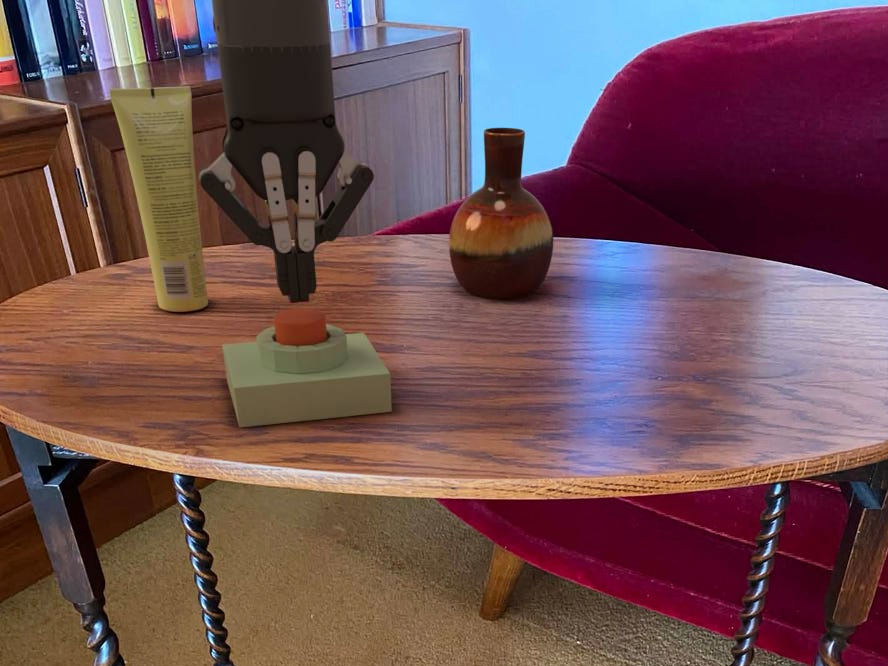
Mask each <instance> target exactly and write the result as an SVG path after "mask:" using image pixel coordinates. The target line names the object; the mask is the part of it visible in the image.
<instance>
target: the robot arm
mask: <svg viewBox="0 0 888 666" xmlns="http://www.w3.org/2000/svg"><path fill="white" fill-rule="evenodd" d="M211 5H212V6H211V7H212V12H213V13H212V14H213V17H212V27H213V31H214V33H215V37H216V38H215V39H216V46H217V54H218V63H219V69H220V79H221V86H222V93H223V102H224V109H225V110H224V111H225V118H226V129H225V133H224V135H223V138H222V145H221V146H222V153H221V154H220V155H219V156H218V157H217V158H216V159H215V160H214V161H213V162H212V163H211V164H210V165H209V166H203V167H202V168H200V169H199V170H198V173H197V177H198V181H199V183H200V186H201V188H202V189H203V190H204V191H205V192H206V194H207V195H208V196H209V197H210V198H211V199H212V200H213V201H214V202H215V203H216V204H217V206H218V207H219V208H220V209H221V210H222V212H224V214H226V216H227V217H228V218H230V220H231V221H232V222H233V223H234V224H235V226H236V227H237V228H238V229H239V230H240V231H241V232H242V233H243V234H244V235H245V237H247V239H249V241H250V242H251V243H252V244H253V245H255V246H261V247H262V246H263V247H266V248H268V249H270V250H272V251H273V258H274V267H275V275H276V276H275V277H276V285H277V287H278V289H279V292H280V293H281V295H282V296H284V297H285V296H286V297H287V300H288V301H289V303H290V304H297V303H298V304H299V303H308V302H310V294H311V295H312V294H315V293H316V291H317V287H318V286H317V285H318V284H317V274H316V263H315V250H316V248H317V247H318V246H319V245H321V244H323V243H325V242H334V241H335V240H336V239H337V238H338V236H339V235H340V234H341V232H342V230H343V229H344V227H345V226H346V224H347V222H348V221H349V219H350V217H351V216H352V214H353V213H354V211H355V209H356V208H357V206H358V205H359V203H360V202H361V200H362V199H363V197H364V196H365V194H366V192H367V191H368V189H369V188H370V186H371V185H372V183H373V182H374V179H375V175H374V172H373V170H372V169H371V167H369V165H367V164H366V163H365V162H363V161H359V160H358V159H357V158H356V157H354V156H353V155H351V154H350V153H349V152H347V151H346V150H345V141H344V138H343V135H342V134H341V133H340V130H339V129H338V125H337V120H336V110H335V109H336V108H335V93H334V91H335V90H334V77H333V63H332V62H333V61H332V47H331V45H332V44H331V31H330V17H329V15H330V14H329V3H328V0H211ZM337 166H338V171H337V174H336V179H337V182H338V183H339V184H340V185H339V186H338V187H337V189H336V191H335V192H334V194H333V196H332V197H331V199H330V200H329V202H328V204H327V205H326V207H325V208H324V210H323V211H322V213H321V214H320V216H319V218H318V219H317V220H316V215H317V212H316V208H317V207H316V205H317V204H316V198H317V197H319V196H320V195H321V193H323V191H324V189H325V187H326V186H327V184H328V182H329V181H330V178H331V177H332V176H333V173H334V171H335V170H336V168H337ZM233 169H235V170H236V172H237V173H238V174H239V175H240V177H241V178H242V179H243V181H245V183H246V184H247V185H248V186H249V187H250V189H251V190H252V192H253V193H254V194H255V195H256V196H257V197H258V198H260V199H261V200H263V201H264V206H265V211H266V215H267V220H268V225H267V224H263V223H261V222H260V221H259V220H258V219H257V218H256V217H255V215H254V214H252V213H251V211H250V210H249V209H248V208H247V206H245V205H244V203H243V202H242V201H241V200H240V199H239V197H238V196H237V195H235V194H234V192H235V190H236V187H237V183H236V180H235V178H234V177H233V175H232V171H233ZM289 200H291V206H292V213H293V214H292V215H293V216H292V217H293V221H292V222H293V241H292V236H291V229H290V223H289V213H288V207H287V201H289ZM293 242H294V245H293Z"/></svg>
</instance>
